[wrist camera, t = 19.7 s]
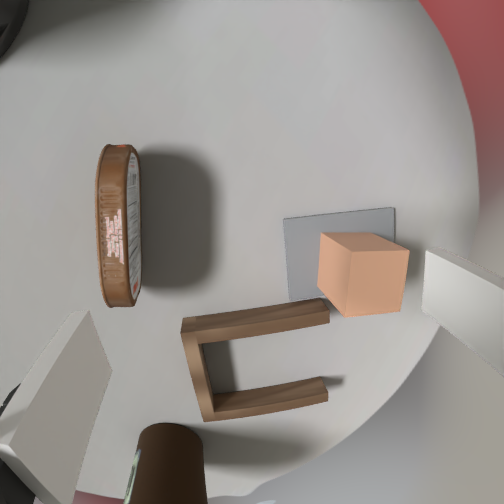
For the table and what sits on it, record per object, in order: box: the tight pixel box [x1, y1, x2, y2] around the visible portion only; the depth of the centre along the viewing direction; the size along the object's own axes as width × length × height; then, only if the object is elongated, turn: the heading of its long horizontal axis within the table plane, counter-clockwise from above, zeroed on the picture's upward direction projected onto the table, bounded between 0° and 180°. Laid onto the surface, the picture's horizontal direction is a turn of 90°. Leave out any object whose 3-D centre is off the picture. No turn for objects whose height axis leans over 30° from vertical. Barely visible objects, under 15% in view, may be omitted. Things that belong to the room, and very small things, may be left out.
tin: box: [95, 144, 142, 308], centre depth 27 cm, size 15×3×8 cm, turn 177°
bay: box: [181, 298, 330, 422], centre depth 35 cm, size 13×16×4 cm
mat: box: [283, 207, 394, 301], centre depth 35 cm, size 9×13×1 cm
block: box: [317, 232, 410, 317], centre depth 31 cm, size 6×6×8 cm
